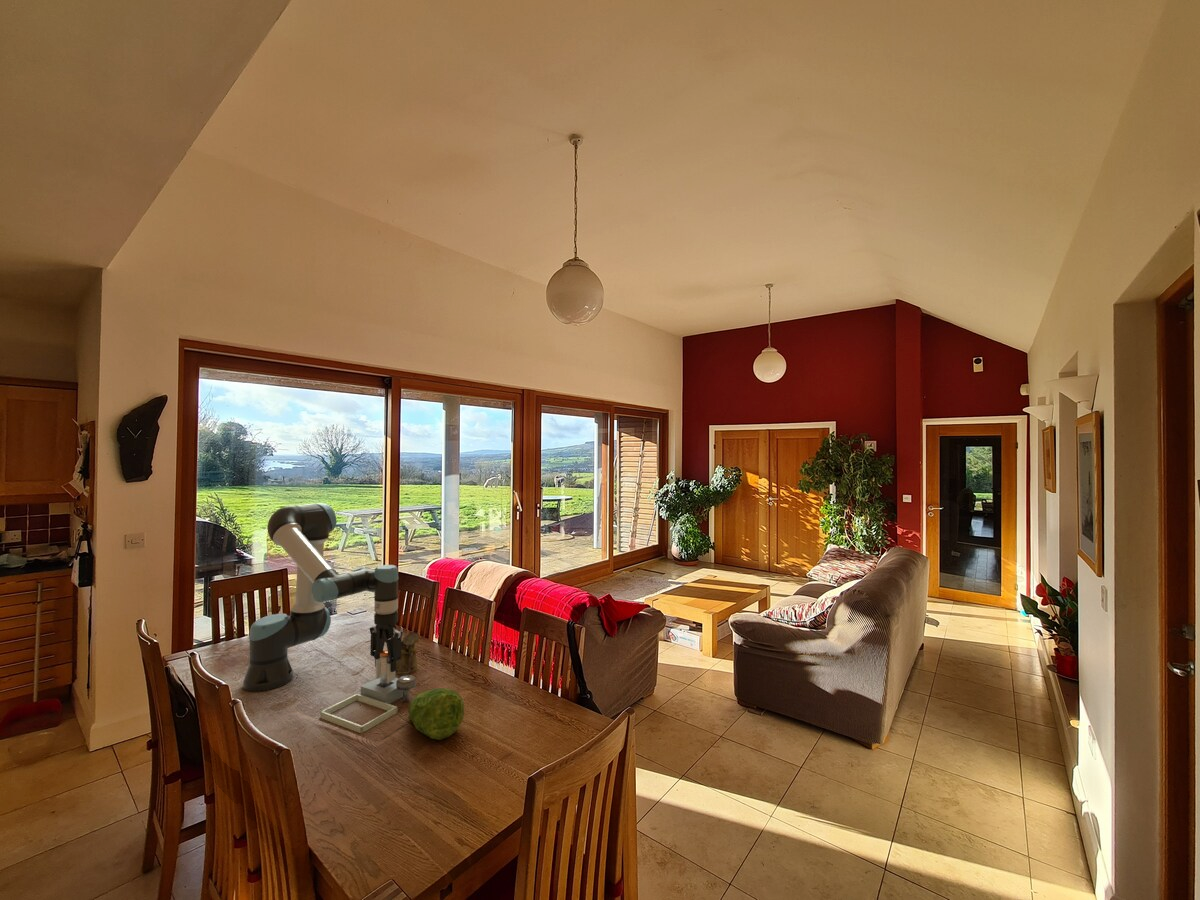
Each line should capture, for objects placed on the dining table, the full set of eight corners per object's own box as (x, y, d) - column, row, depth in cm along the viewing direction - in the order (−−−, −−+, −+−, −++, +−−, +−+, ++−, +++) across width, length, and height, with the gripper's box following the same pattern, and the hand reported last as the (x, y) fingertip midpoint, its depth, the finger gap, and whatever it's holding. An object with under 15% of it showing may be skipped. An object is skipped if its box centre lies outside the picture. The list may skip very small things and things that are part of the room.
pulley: (391, 705, 165) (392, 680, 165) (406, 697, 171) (407, 672, 171) (405, 709, 162) (405, 684, 162) (420, 701, 168) (420, 676, 168)
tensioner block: (360, 701, 168) (360, 686, 168) (385, 688, 177) (385, 674, 177) (385, 709, 162) (385, 694, 162) (409, 696, 171) (409, 681, 171)
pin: (376, 696, 169) (377, 652, 169) (385, 692, 172) (386, 649, 172) (384, 699, 167) (384, 654, 167) (393, 694, 170) (394, 651, 170)
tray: (320, 720, 155) (320, 711, 155) (357, 701, 167) (357, 693, 167) (361, 736, 147) (361, 727, 147) (397, 715, 159) (397, 706, 159)
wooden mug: (399, 684, 180) (400, 634, 180) (390, 670, 191) (391, 624, 191) (424, 677, 185) (425, 630, 185) (414, 665, 196) (415, 619, 196)
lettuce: (435, 721, 163) (437, 678, 167) (470, 735, 147) (471, 687, 150) (392, 731, 154) (395, 685, 157) (424, 747, 137) (427, 695, 141)
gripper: (358, 610, 170) (358, 677, 170) (395, 618, 162) (395, 689, 162) (377, 604, 177) (376, 669, 177) (413, 611, 169) (413, 679, 169)
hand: (385, 678), depth 169 cm, fingers open, 5 cm apart
